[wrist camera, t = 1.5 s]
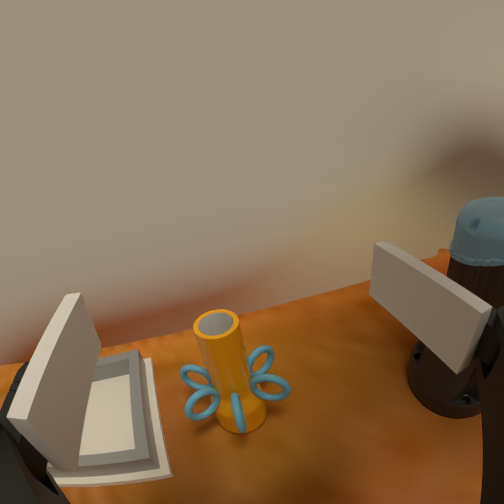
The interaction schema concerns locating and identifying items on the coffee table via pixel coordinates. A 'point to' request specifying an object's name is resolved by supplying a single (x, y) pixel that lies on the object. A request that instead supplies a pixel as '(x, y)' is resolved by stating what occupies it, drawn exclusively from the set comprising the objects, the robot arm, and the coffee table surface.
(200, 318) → the orange tube
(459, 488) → the coffee table surface
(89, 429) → the holder tray
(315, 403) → the coffee table surface
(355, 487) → the coffee table surface
